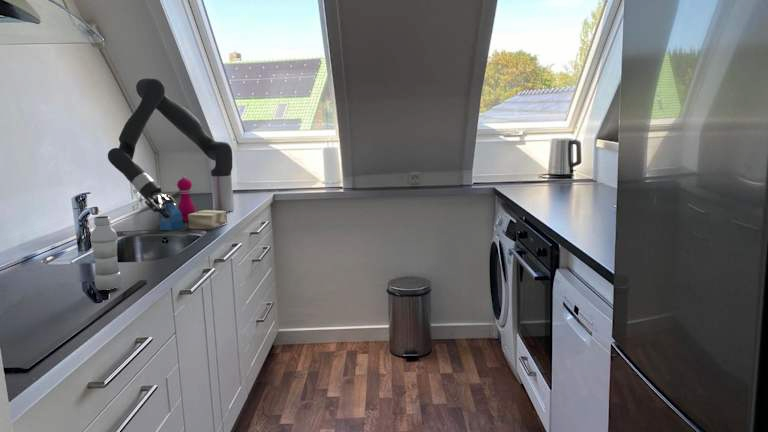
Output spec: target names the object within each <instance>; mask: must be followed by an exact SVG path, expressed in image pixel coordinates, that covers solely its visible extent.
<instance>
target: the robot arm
mask: <svg viewBox="0 0 768 432" xmlns="http://www.w3.org/2000/svg"><path fill="white" fill-rule="evenodd" d="M135 90H136V94H137V95H138V96H139V98H141V100H140V103H139V104H138V106H137V108H136V110H134V112H133V113H132V115H130V117H129V118H128V119H127V121H126V122H125V124H124V126H123V128H122V130H121V133H120V134H119V137H118V141H119V147H114V148H111V149H110V150H109V151H108V152H107V160H108V162H109V163H110V164H111V165H112V166H113V167H114V168H115V169H117V170H118V171H119V172H120V173H121V174H123V176H124V177H125V178H126V179H127V180H128V182H129V183H131V185H132V186H133V187H134V189H135V190H136V191H137V192H138V193H139V194H140V195H141V196H142V197H143V198H144V200H145V201H144V203H145V204H146V206H148V207H149V209H151V211H153V213H156V212H157V213H158V214H160V213H161V214H162V216H163V217H165V218H166V219H167V218H168V217H169V216H170V214H169V213H168V212H167V211H166V210H165V209H163V208H166V205H165V203H166V201H165V200H167V199H174V200H173V202H174V207H177V206H176V205H178V202H177V200H175V198H174V197H173V196H172V195H171V194H170V193H168V192H167V193H166V194H164V193H163V192H162V187H161V186H160V185H159V184H158V183H157V182H156V181H155V179H153V178H152V177H151V175H149V174H148V173H146V171H145V170H144V169H143V168H142V167H141V166H140V165H139V164H137V163H135V162H134V161H133V159H134V154H135V153H136V152H135V150H136V147H137V143H138V142H139V140H140V137H141V135H142V133H143V131H144V129H145V127H146V125H147V123H148V121H149V119H150V117H151V116H152V114H153V113H154V111H155V110H157V111H159V113H160V114H161V115H163V117H164V118H166V119H167V120H168V121H169V122H170V123H171V124H172V125H173V126H174V127H175V128H176V129H177V130H179V131H180V132H181V133H182V134H184V135H185V136H186V137H187V138H188V139H189V140H190V141H192V142H193V143H194V144H195V145H196V146H197V147H198V148H199V149H200V150H201V152H202V153H204V155H205V156H206V157H207V158H209V159H210V160H212V161H215V165H214V168H212V169H211V170H210V177H211V178H210V179H211V180H210V181H211V190H212V191H211V192H212V208H213V209H212V210H215V211H226V213H229V211H230V212H233V211H234V210H235V204H234V203H235V201H234V190H233V181H232V170H233V149H232V147H231V145H230V143H228V142H226V141H216V140H215V139H214V138H212V137H211V136H210V135H208V134H207V133H206V131H205V130H204V128H203V125H202V123H201V121H200V120H199V118H198V117H196V116H195V115H194V114H193V113H192V112H191V111H190V110H189V109H187V108H186V107H184V106H182V105H181V104H179V103H177V102H176V101H174V100H172V99H171V98H170V97H168V96H167V95H166V86H165V84H164V83H163V82H162V81H161V80H159V79H156V78H147V77H146V78H141V79H139V80H138V81H137V83H136V85H135ZM163 206H164V207H163ZM233 209H234V210H233Z"/></svg>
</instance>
